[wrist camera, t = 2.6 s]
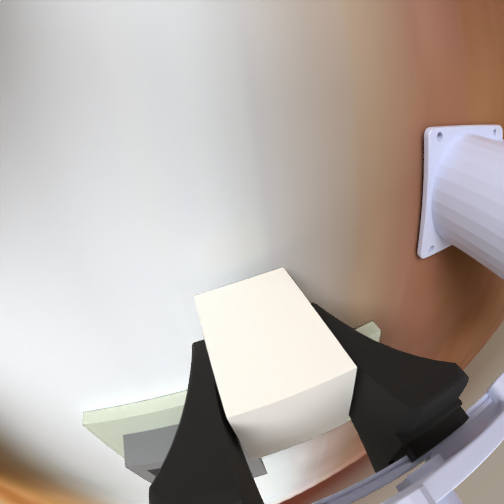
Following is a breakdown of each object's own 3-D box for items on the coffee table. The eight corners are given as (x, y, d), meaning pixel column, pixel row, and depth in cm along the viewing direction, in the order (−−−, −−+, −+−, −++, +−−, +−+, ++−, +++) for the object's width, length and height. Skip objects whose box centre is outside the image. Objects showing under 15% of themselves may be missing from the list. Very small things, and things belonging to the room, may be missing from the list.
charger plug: (282, 267, 13) (356, 367, 8) (291, 330, 15) (347, 422, 10) (194, 295, 12) (226, 418, 7) (217, 355, 14) (251, 460, 9)
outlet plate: (372, 321, 18) (403, 355, 15) (357, 406, 24) (374, 433, 21) (82, 412, 15) (81, 457, 12) (156, 472, 21) (162, 503, 18)
